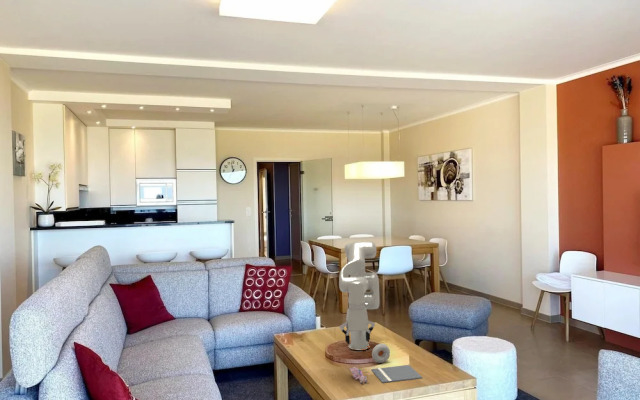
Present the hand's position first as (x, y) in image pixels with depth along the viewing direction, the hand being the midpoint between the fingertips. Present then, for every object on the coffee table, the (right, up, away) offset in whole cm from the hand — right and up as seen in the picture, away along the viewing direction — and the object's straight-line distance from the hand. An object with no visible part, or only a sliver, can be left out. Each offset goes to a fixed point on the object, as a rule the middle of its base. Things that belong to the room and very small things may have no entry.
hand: (357, 342), depth 228 cm
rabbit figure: (0, -18, +1) cm, 18 cm away
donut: (+14, -17, +20) cm, 30 cm away
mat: (+19, -17, +5) cm, 26 cm away
